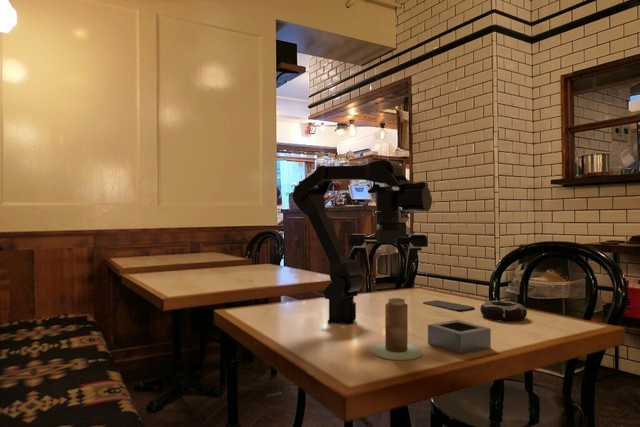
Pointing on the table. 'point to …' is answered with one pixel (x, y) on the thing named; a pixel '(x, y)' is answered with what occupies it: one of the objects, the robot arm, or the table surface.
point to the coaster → (410, 354)
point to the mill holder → (459, 336)
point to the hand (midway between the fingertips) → (387, 275)
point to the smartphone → (449, 305)
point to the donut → (503, 311)
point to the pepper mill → (396, 325)
